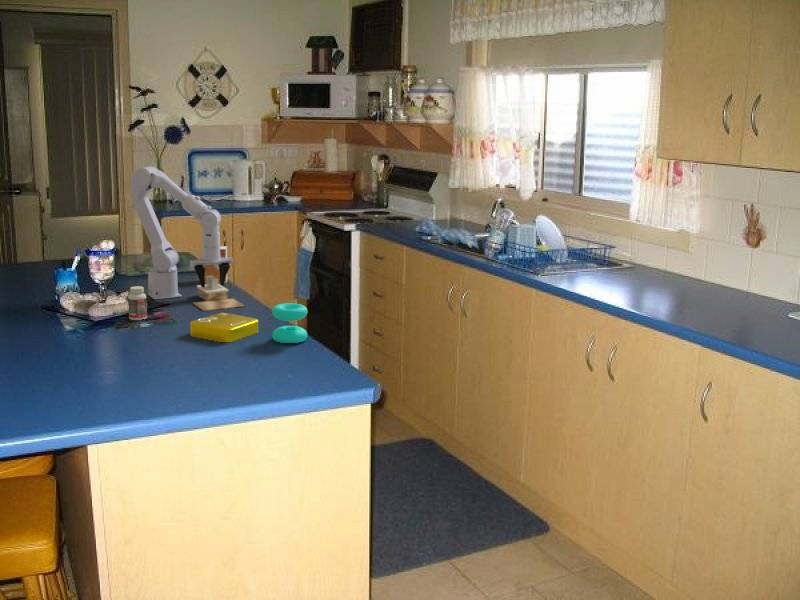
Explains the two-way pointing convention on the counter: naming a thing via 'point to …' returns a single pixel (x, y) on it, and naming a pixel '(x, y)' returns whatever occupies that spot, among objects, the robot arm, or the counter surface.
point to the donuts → (289, 314)
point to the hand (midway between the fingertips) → (212, 285)
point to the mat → (218, 304)
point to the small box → (215, 267)
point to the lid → (212, 286)
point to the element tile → (224, 327)
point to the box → (212, 295)
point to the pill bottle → (137, 303)
